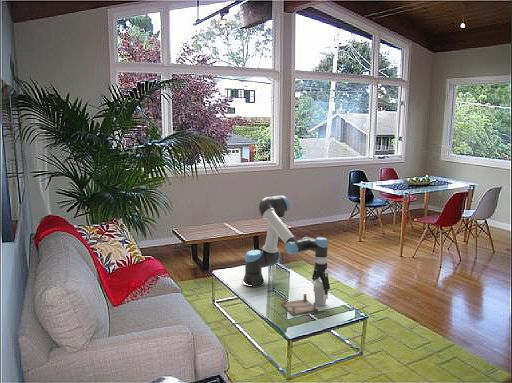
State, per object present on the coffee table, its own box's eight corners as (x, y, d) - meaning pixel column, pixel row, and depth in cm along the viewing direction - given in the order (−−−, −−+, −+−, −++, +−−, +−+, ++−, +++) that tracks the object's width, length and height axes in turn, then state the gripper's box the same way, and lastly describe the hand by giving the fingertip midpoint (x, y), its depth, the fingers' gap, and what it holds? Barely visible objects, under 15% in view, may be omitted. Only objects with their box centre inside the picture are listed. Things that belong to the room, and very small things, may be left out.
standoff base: (281, 304, 267) (281, 296, 266) (306, 300, 272) (306, 293, 272) (292, 315, 251) (292, 307, 250) (318, 311, 256) (318, 303, 256)
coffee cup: (311, 305, 265) (311, 282, 263) (314, 299, 274) (315, 277, 272) (326, 307, 262) (326, 284, 259) (329, 302, 270) (329, 279, 268)
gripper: (307, 257, 274) (306, 288, 277) (324, 269, 251) (324, 303, 254) (317, 256, 277) (317, 287, 280) (336, 267, 253) (335, 301, 257)
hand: (320, 295), depth 267 cm, fingers open, 12 cm apart
